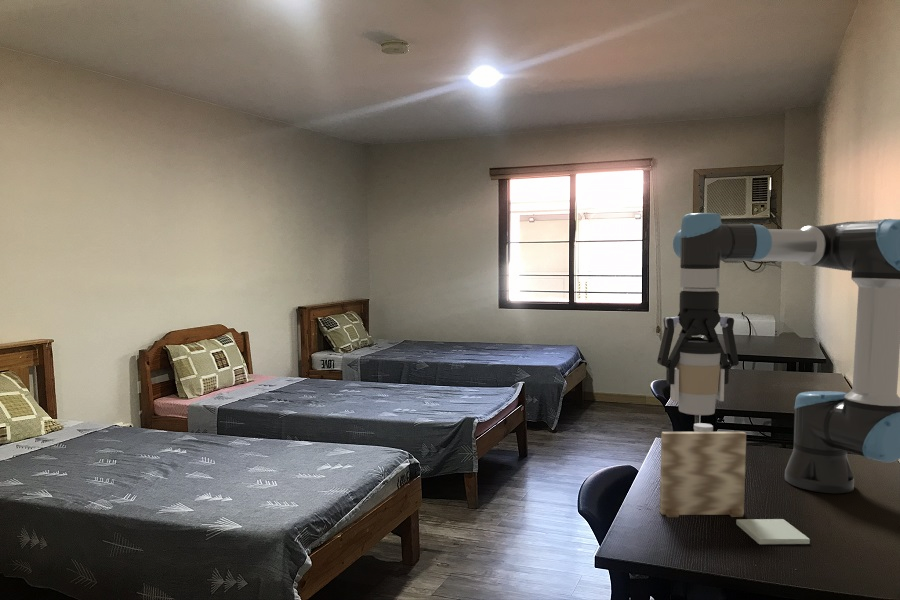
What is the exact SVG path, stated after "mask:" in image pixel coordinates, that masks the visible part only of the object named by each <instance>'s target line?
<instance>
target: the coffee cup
mask: <svg viewBox="0 0 900 600" xmlns="http://www.w3.org/2000/svg"><path fill="white" fill-rule="evenodd" d="M676 347H677V346H676ZM679 352H680V359H679V361H678V363H677V365H676V367H675V368H677V369H679V401H677V403H678V411H679V412H680V413H683V414H686V415H693V416H710V415H711V416H712V415H714V414H715V411H716V402H717V399H716V394H717V392H718V383H719V373H720V354H721V353H722V351H721V347H718V345H717V343H716V342H709V341H708V339H707V338H703V337H701V336H692V337H691V339H690V340H689V341H688V342H685V343H684V345H683V347H680V351H679Z"/></svg>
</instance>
